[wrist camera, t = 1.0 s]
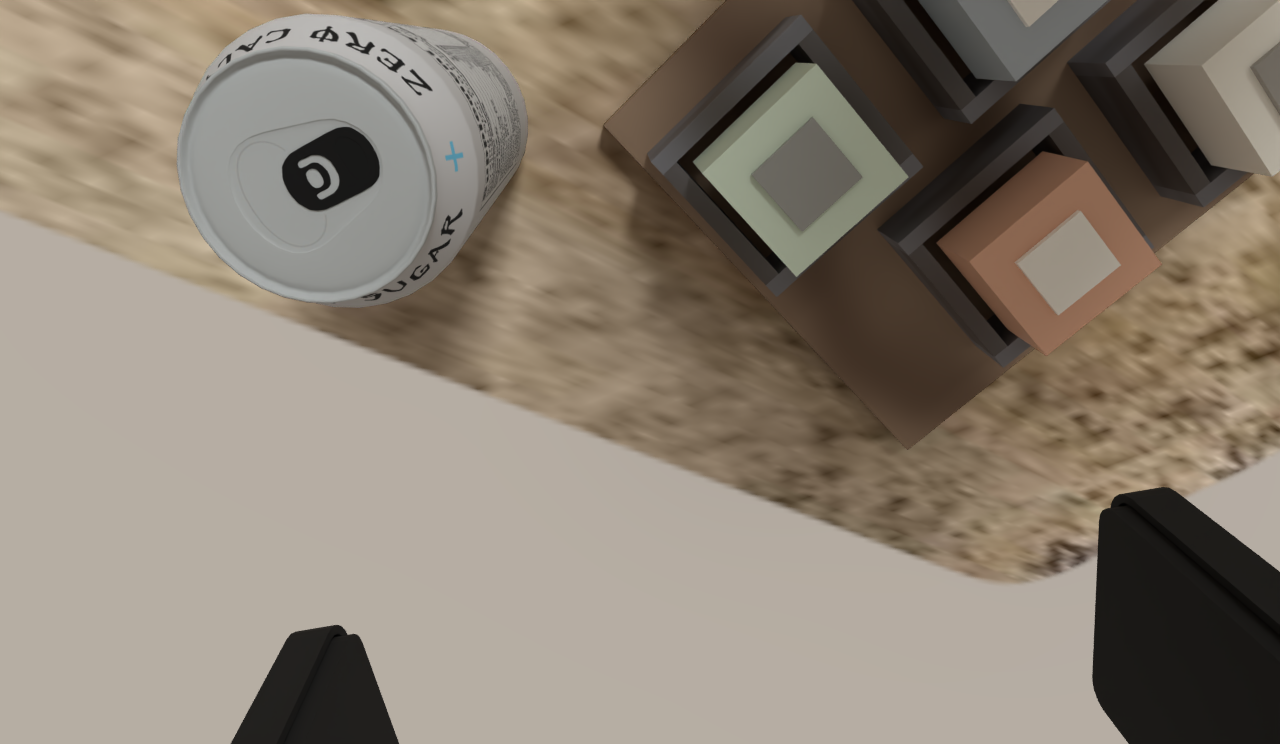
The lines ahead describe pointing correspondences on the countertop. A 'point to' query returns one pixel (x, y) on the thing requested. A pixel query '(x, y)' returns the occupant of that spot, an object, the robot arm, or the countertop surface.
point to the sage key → (800, 166)
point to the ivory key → (1228, 83)
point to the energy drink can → (347, 154)
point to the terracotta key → (1049, 250)
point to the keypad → (921, 172)
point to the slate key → (1006, 31)
